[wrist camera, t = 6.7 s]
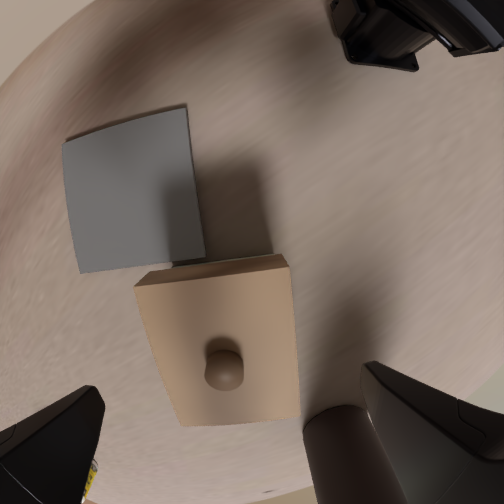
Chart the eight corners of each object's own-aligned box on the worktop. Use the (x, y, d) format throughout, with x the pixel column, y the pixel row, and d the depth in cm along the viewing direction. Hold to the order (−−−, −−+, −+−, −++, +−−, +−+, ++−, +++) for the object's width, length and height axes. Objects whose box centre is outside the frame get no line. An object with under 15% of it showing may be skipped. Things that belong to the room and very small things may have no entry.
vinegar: (365, 434, 23) (426, 576, 4) (306, 452, 24) (340, 607, 4) (366, 394, 22) (454, 566, 2) (297, 415, 22) (341, 611, 3)
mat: (187, 110, 17) (185, 107, 16) (206, 255, 19) (205, 257, 18) (65, 145, 16) (61, 144, 16) (84, 271, 19) (80, 273, 18)
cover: (281, 253, 14) (293, 273, 11) (294, 389, 16) (303, 428, 13) (149, 271, 14) (124, 294, 11) (187, 400, 16) (178, 437, 13)
